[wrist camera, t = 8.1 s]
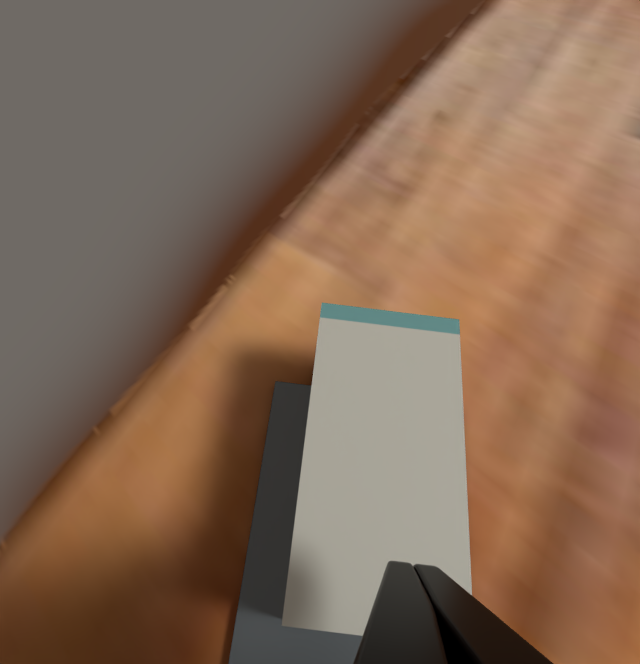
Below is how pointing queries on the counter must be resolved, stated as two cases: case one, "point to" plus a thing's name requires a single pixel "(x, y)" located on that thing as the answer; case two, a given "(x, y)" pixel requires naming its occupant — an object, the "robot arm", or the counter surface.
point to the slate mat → (280, 551)
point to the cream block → (378, 464)
